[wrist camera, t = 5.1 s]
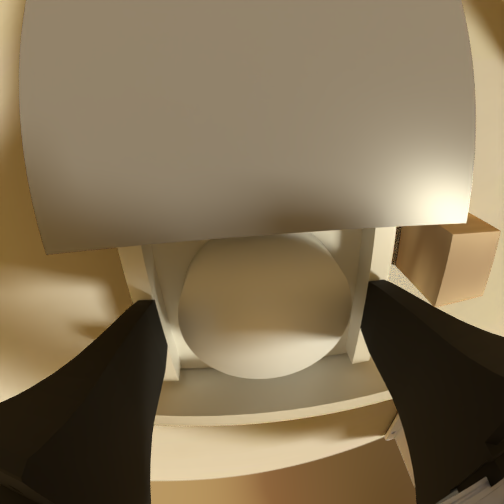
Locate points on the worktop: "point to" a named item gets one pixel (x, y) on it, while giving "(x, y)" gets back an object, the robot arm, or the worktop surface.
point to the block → (448, 259)
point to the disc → (263, 304)
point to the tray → (273, 389)
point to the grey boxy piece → (243, 118)
